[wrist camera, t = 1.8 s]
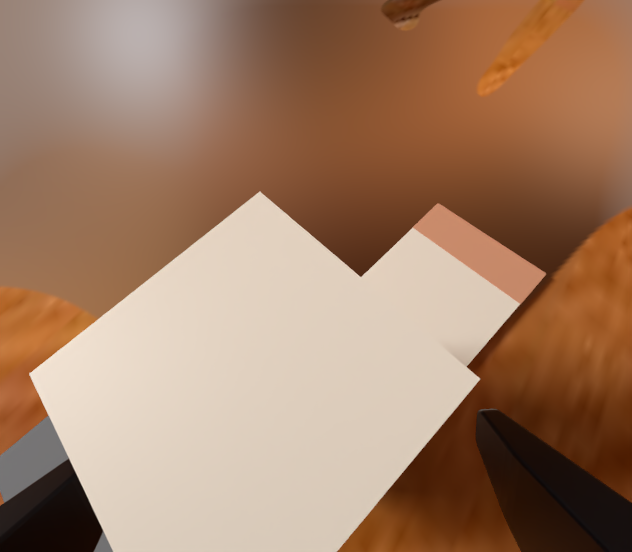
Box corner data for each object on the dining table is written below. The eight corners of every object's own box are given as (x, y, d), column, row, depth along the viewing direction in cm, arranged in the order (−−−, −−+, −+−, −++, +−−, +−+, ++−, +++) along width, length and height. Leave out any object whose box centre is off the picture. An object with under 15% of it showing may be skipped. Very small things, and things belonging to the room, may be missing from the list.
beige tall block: (388, 413, 16) (485, 378, 4) (321, 488, 15) (192, 733, 3) (323, 347, 17) (260, 188, 6) (259, 410, 16) (24, 373, 5)
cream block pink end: (435, 209, 20) (438, 202, 20) (540, 278, 18) (547, 273, 17) (323, 316, 18) (322, 313, 18) (423, 414, 16) (426, 413, 15)
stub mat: (261, 475, 15) (259, 476, 15) (75, 670, 13) (67, 677, 13) (156, 330, 19) (153, 328, 19) (-2, 463, 17) (-10, 463, 16)
